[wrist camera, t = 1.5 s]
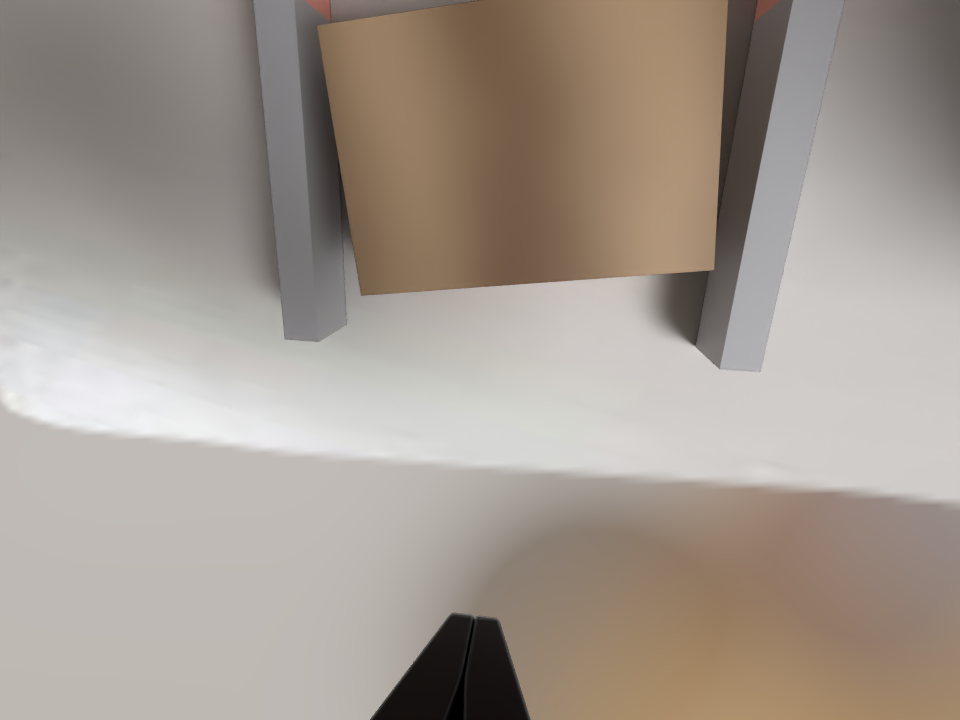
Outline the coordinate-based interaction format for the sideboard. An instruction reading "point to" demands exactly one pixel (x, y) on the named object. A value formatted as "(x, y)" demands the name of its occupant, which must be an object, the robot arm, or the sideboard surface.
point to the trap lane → (745, 203)
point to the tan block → (528, 140)
